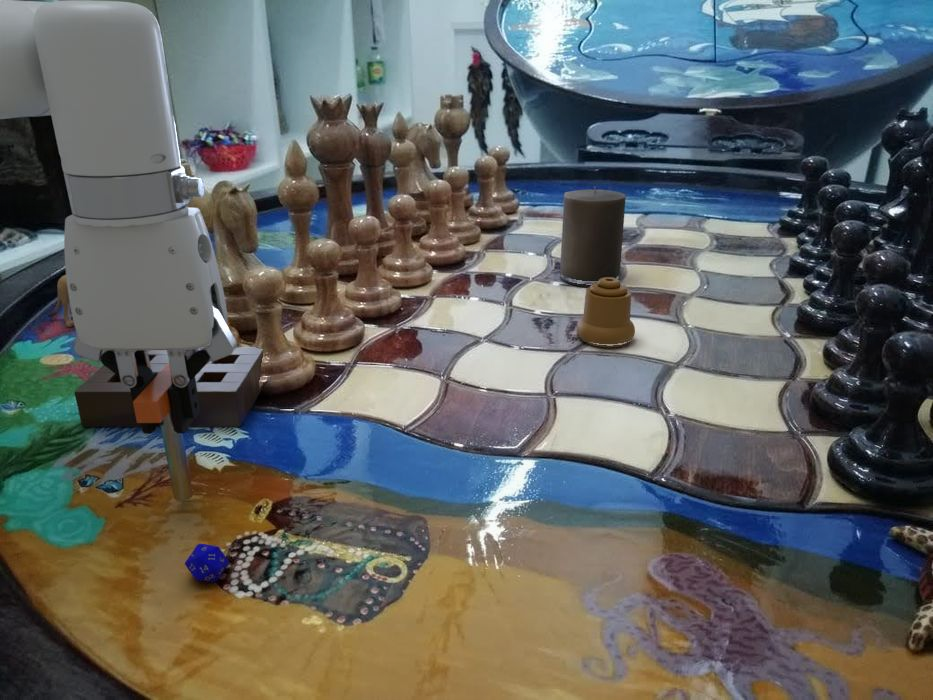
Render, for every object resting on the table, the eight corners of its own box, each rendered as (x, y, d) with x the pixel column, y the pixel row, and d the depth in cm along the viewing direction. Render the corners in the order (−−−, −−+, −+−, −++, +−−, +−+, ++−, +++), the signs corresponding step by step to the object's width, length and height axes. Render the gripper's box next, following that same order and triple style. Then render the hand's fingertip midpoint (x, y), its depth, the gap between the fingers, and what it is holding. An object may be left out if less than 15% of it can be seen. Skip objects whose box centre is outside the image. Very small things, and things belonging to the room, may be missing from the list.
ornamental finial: (633, 330, 98) (634, 351, 92) (578, 326, 100) (574, 347, 93) (639, 273, 95) (640, 290, 89) (581, 269, 97) (577, 287, 90)
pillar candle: (614, 290, 114) (622, 194, 108) (553, 284, 117) (557, 189, 111) (623, 273, 123) (631, 182, 117) (565, 267, 125) (570, 179, 120)
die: (237, 576, 54) (219, 566, 51) (203, 593, 53) (184, 583, 51) (227, 543, 55) (210, 531, 52) (195, 559, 55) (176, 548, 52)
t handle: (156, 522, 58) (132, 401, 54) (187, 473, 65) (167, 363, 60) (179, 521, 58) (156, 401, 54) (208, 473, 65) (189, 363, 60)
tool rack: (240, 427, 74) (235, 391, 72) (82, 427, 74) (73, 391, 72) (268, 378, 84) (264, 346, 83) (129, 379, 84) (123, 347, 83)
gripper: (255, 185, 55) (280, 403, 62) (44, 185, 55) (93, 404, 62) (225, 206, 48) (256, 449, 55) (-16, 206, 48) (47, 449, 55)
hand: (170, 423), depth 59 cm, fingers closed on t handle, 1 cm apart
